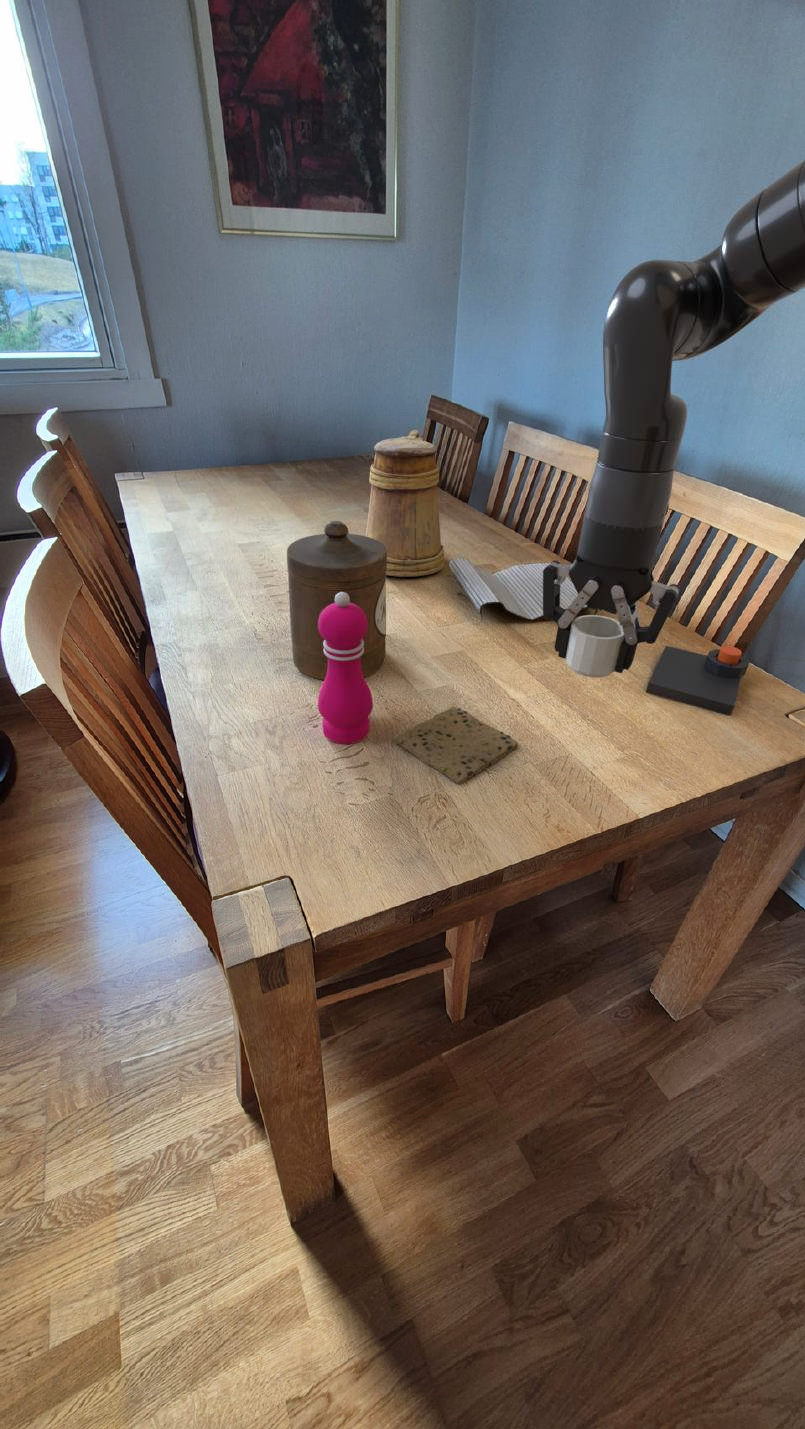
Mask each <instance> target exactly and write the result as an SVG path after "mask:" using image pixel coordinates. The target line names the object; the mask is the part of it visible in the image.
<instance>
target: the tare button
mask: <svg viewBox="0 0 805 1429" xmlns="http://www.w3.org/2000/svg"><path fill="white" fill-rule="evenodd" d="M741 655H743V652H742V650H741V649H739V648H738V647H735V646H732V645H731V646H730V645H723V646H721V647H720V652H719V655H718V660H720V661H722V662H724V663H728V664H738V662H739V659H740V657H741Z"/></svg>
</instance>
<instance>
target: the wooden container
mask: <svg viewBox="0 0 805 1429" xmlns="http://www.w3.org/2000/svg"><path fill="white" fill-rule="evenodd" d="M323 532H324V533H320V534H313V535H308V536H305V537H301V538H299V539H297V540H295V541H293V542H292V543H290V544H289V545H288V546H287V549H286V566H287V577H288V578H287V580H288V599H289V600H288V601H289V620H290V621H289V622H290V636H291V637H290V638H291V647H292V658H293V660H292V661H293V663H294V665H295V667H296V668H297V669H298V671H300V672H301V673H302V674H304V675H306V676H309V677H311V678H314V679H318V680H323V681H324V680H325V678H326V674H327V670H328V657H327V656H326V655H325V654H324V651H323V650H324V646H323V642H324V640H325V639H323V638H322V636H321V635H320V632H319V629H318V620H319V616H320V614H321V612H322V611H323V610H324V609H325V608H326V607H327V606H328V605H331V604H333V603H335V596H336V595H337V594H338V593H339V592H345V593H347V594H348V596H349V598H350V602H349V603H353V604H355V605H357V606H359V607H360V608H361V609H362V610H363V611H364V613H365V615H366V617H367V622H368V629H367V633H366V635H365V636H364V638H363V641H364V646H363V647H364V652H363V654H362V655H361V657H360V663H361V671H362V674H363V677H364V678H366V677H368V676H371V675H372V674H374V673H375V672H377V671H379V670H380V669H381V668H382V667H383V665H384V664H385V661H386V646H387V645H386V642H387V641H386V640H387V639H386V637H387V575H386V570H387V549H386V547H385V546H384V545H383V544H382V543H381V542H379V541H377V540H375V539H373V538H370V537H366V535H360V534H356V533H349V528H348V526H347V525H346V524H345V523H343V522H342V521H339V520H333V521H331V522H329V523H327V524H325V526H324V528H323Z"/></svg>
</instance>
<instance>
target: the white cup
mask: <svg viewBox="0 0 805 1429" xmlns="http://www.w3.org/2000/svg"><path fill="white" fill-rule="evenodd" d="M624 639H625V636H624V632H623V628H622V626H621V625H620V622H619V620H617V619H614V618H612V617H608V616H603V615H596V614H595V615H594V614H587V615H580V616H576V617H575V618H574V619H573V621H572V623H571V628H570V633H569V638H568V644H567V649H566V654H565V658H564V661H565V664H566V665H567V666H568V668H569V669H570V670H571V671H572V672H574V673H575V674H578V675H579V676H583V677H587V678H594V679H595V678H605V677H608V676H610V675H611V674H613V673H616V672H615V670H616V666H617V662H618V658H619V654H620V650H621V646H622V643H623V641H624Z"/></svg>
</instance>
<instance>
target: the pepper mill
mask: <svg viewBox="0 0 805 1429" xmlns="http://www.w3.org/2000/svg"><path fill="white" fill-rule="evenodd" d="M349 602H350V598H349V596H348V594H347V593H345V592H339V593H338V594H337V595H336V596H335V603H333V604H331V605H328V606H327V607H326V608H325V609H324V610H323V611H322V612H321V614H320V616H319V620H318V629H319V632H320V635H321V636H322V638H323V639H325V640H324V642H323V646H324V650H323V651H324V654H325V655H326V656H327V657H328V670H327V674H326V678H325V680H323V682H322V685H321V687H320V690H319V694H318V698H317V708H318V713H319V714H320V716H321V717H322V718H323V719H322V732H323V735H324V737H325V738H327V739H328V740H329V741H331V742H333V743H336V744H340V745H348V744H354V743H355V744H356V743H357V742H360V741H362V740H364V739H365V738H366V737H368V735H369V733H370V717H369V716H370V715H371V713H372V712H373V708H374V702H373V700H374V699H373V694H372V691H371V688H370V687H369V685H368V683H367V681H366V679H365V677H363V674H362V671H361V663H360V657H361V655H362V654H363V652H364V647H363V646H364V641H363V638H364V636H365V635H366V633H367V629H368V622H367V617H366V615H365V613H364V611H363V610H362V609H361V608H360V607H359V606H357V605H355V604H353V603H349Z"/></svg>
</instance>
